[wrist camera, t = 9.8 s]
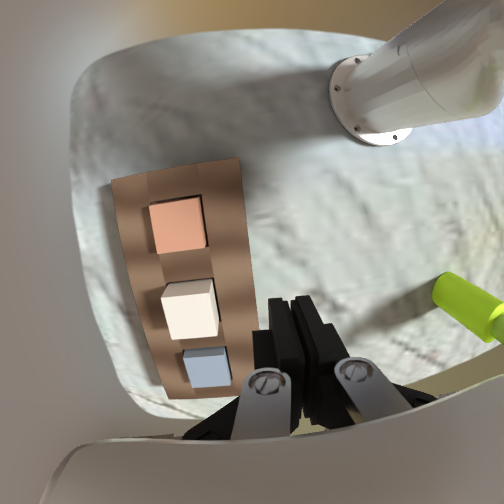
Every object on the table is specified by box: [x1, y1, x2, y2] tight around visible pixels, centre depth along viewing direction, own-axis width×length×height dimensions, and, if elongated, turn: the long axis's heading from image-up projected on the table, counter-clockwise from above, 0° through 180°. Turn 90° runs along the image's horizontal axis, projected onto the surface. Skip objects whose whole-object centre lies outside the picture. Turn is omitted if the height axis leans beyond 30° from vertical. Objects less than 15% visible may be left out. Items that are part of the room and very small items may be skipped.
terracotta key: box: [149, 196, 208, 254], centre depth 29 cm, size 5×5×4 cm
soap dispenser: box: [432, 272, 504, 345], centre depth 28 cm, size 6×7×20 cm
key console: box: [111, 158, 259, 399], centre depth 33 cm, size 30×14×4 cm, turn 6°
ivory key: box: [161, 279, 219, 340], centre depth 30 cm, size 5×5×4 cm
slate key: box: [183, 346, 231, 388], centre depth 34 cm, size 5×5×4 cm
